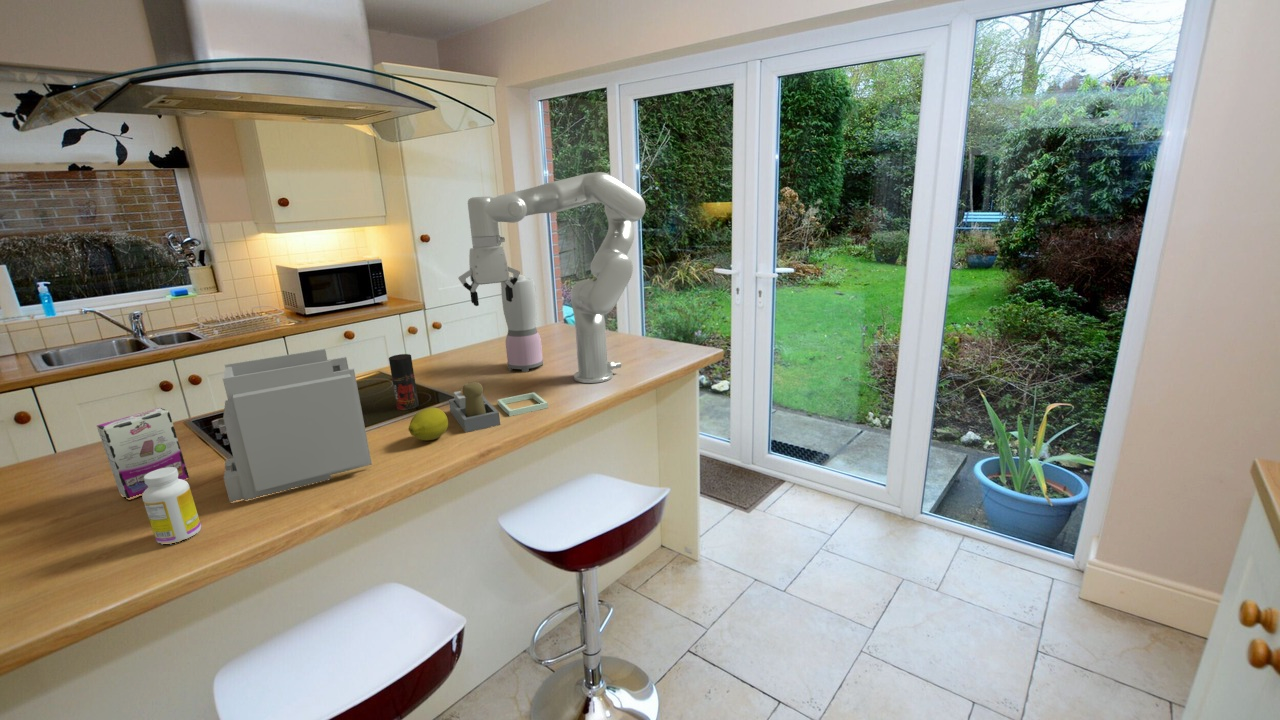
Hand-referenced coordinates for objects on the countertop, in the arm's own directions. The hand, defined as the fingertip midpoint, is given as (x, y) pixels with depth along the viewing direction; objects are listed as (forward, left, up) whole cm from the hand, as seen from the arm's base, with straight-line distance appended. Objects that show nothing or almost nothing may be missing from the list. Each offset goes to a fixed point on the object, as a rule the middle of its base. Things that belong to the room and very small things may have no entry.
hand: (493, 303), depth 166 cm
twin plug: (+12, +9, -28) cm, 32 cm away
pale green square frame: (-2, +12, -28) cm, 31 cm away
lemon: (+25, +21, -28) cm, 43 cm away
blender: (-17, -26, -28) cm, 42 cm away
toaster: (+52, +25, -29) cm, 64 cm away
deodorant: (+26, -8, -28) cm, 39 cm away
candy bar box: (+81, +13, -28) cm, 87 cm away
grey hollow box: (+12, +13, -28) cm, 33 cm away
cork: (+12, +17, -28) cm, 35 cm away
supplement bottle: (+73, +40, -28) cm, 88 cm away
